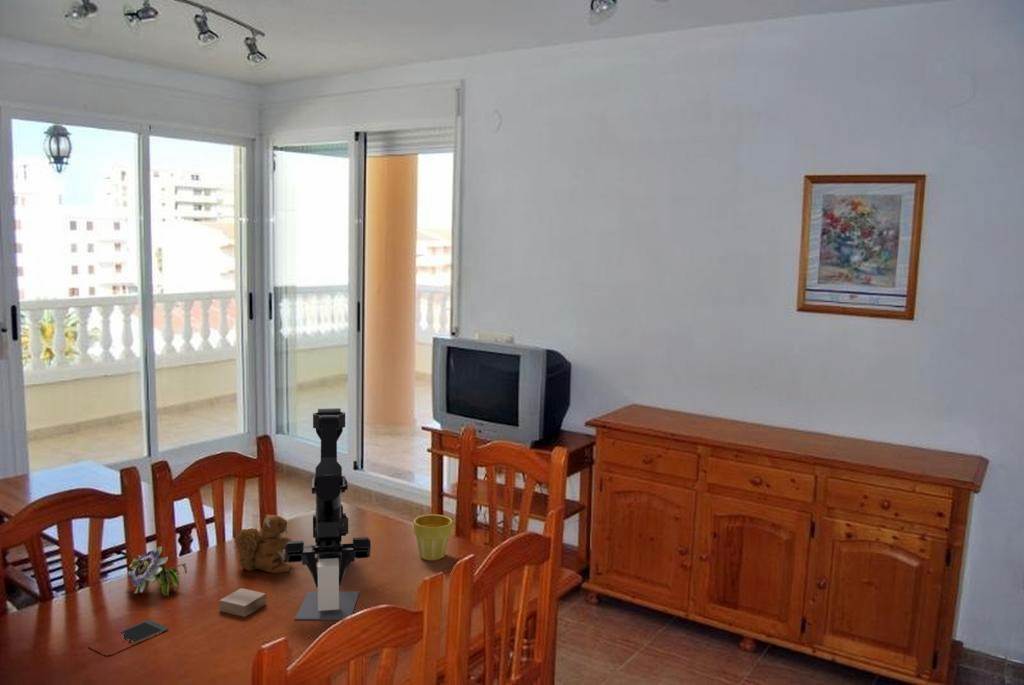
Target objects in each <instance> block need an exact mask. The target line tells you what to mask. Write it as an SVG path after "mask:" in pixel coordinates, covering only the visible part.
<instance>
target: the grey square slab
mask: <svg viewBox="0 0 1024 685" xmlns="http://www.w3.org/2000/svg"><path fill="white" fill-rule="evenodd" d="M266 596H267V593H264V592H260V591H256V590H251V589H247V588H243V587H242V588H241V587H240V588H238V589H236V590H235V591H233V592H232V593H229V594H228V595H227V596H224V597H223V598H221V599H219V612H224V613H227V614H231V615H235V616H240V617H244V618H245V617H247V616H248V615H251V614H252V613H254V612H255V611H257V610H259V609H260V608H263V607H264V606H266V604H267V597H266Z"/></svg>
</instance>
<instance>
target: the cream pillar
mask: <svg viewBox="0 0 1024 685" xmlns="http://www.w3.org/2000/svg"><path fill="white" fill-rule="evenodd" d="M339 562H340V561H339V558H330V559H318V561H317V575H318V588H317V591H318V611H322V610H335V609H339V591H340V586H339V572H340V564H339Z"/></svg>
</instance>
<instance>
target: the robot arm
mask: <svg viewBox="0 0 1024 685" xmlns="http://www.w3.org/2000/svg"><path fill="white" fill-rule="evenodd" d="M341 409H342V408H340V407H339V408H338V407H337V408H334V407H333V408H317V412H313V413H312V429H315V432H316V435H317V436H318V438H319V440H320V462H319V463H318V464H317V465H316V466H315V476H312V478H311V479H312V480H311V495H313V494H314V496H315V513H314V514H312V538H314V542H315V545H313V544H311V545H310V544H307V545H305V544H304V540H294V541H289V542H287V543H286V545H285V549H284V550H285V551H284V553H285V556H286V559H285V562H286V563H291V564H292V563H301V565H303V566H306V567H307V569H308V570H309V572H310V574H311V577H312V579H313V583H314V586H315V588H316V589H318V566H317V562H318V559H330V558H339V562H340V564H339V587H341V586H342V583H343V580H344V577H345V574H346V572H347V570H348V568H349V566H350V564H351V563H354V562H355V561H356V559H367V558H370V557H371V548H372V547H371V545H372V544H371V539H370V538H369V537H368V536H363V537H353V538H352V543H342V539H343V538H342V537H346V535H348V534H349V517H348V516H347V515H346V514H347V513H346V512H344V507H343V505H342V494H343V493H345V492H346V490H348V488H349V487H348V484H349V483H348V480H347V479H346V477H345V475H343V471H342V470H343V467H342V465H341V464H340V463H339V462H338V441H339V439H340V437H341V435H342V434H343V431H344V430H343V429H344V428H346V412H345V411H342V410H341Z"/></svg>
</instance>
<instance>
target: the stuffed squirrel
mask: <svg viewBox="0 0 1024 685" xmlns="http://www.w3.org/2000/svg"><path fill="white" fill-rule="evenodd" d="M287 528H288V522H287V519H285V518H283V517H282V516H279V515H278V514H277V515H275V514H269V513H267V514H265V515H264V519H263V522H262V532H261V534H260V533H259V531H258V528H253V527H251V528H247V529H246V528H242V529H241V530H240V532H239V533H236V537H237V538H236V541H235V542H236V543H235V544H236V546H237V548H238V550H237V553H238V555H239V557H238V558H239V560H238V562H239V565H241V568H243V569H245V570H246V571H255V570H260V571H263V572H267V573H270V574H271V573H272V574H273V573H274V574H276V573H279V574H280V573H288V572H289V571H290V569H291V566H290V565H289V564H288V563H287V562H286V563H285V561H286V556H285V551H284V550H285V545H286V543H287V542H289V541H292V540H293V539H292V538H290V537H289V536H282V534H283V533H286V534H288V530H287Z"/></svg>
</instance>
